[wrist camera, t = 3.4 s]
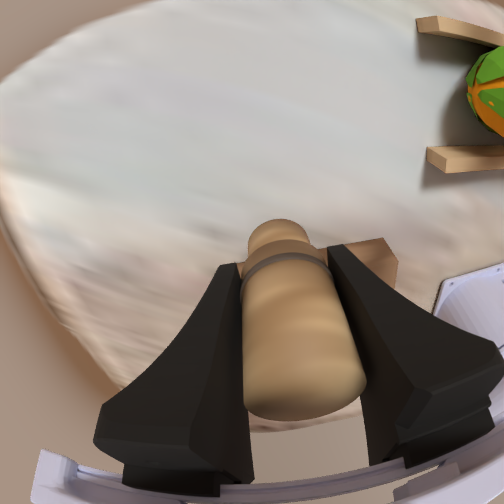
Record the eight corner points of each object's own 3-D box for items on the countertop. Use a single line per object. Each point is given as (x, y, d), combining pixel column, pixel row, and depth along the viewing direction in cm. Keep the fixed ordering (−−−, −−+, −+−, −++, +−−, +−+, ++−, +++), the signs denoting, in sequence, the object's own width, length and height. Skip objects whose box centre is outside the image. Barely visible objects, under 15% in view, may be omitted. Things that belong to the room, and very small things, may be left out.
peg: (312, 204, 12) (375, 349, 6) (319, 268, 13) (361, 408, 8) (231, 220, 12) (226, 376, 6) (248, 281, 14) (255, 427, 8)
